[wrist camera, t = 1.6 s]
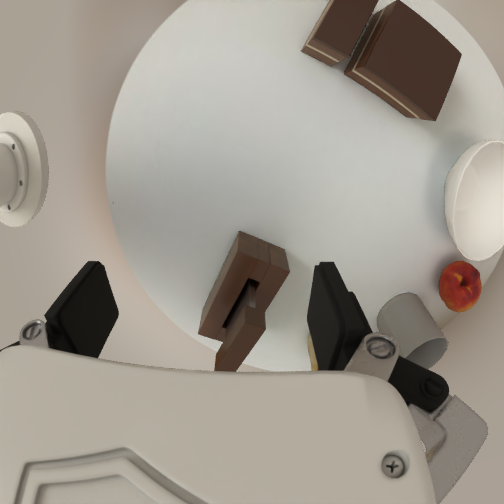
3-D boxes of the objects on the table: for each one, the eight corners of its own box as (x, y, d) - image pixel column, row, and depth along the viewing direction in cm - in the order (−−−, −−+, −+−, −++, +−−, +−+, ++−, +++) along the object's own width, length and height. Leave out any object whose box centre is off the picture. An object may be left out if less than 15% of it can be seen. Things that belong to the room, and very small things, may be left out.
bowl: (411, 142, 26) (447, 152, 20) (488, 124, 23) (521, 133, 17) (425, 252, 33) (451, 278, 27) (493, 220, 30) (520, 239, 24)
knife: (222, 301, 37) (214, 372, 26) (246, 254, 33) (244, 322, 23) (236, 305, 37) (232, 376, 26) (261, 259, 34) (266, 329, 23)
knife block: (202, 308, 37) (197, 334, 33) (239, 230, 32) (237, 250, 27) (242, 322, 38) (241, 347, 34) (284, 249, 33) (290, 271, 28)
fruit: (467, 245, 33) (497, 272, 26) (461, 285, 36) (485, 313, 29) (432, 258, 34) (460, 289, 27) (427, 299, 37) (450, 331, 30)
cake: (343, 73, 23) (365, 66, 18) (374, 13, 19) (398, -2, 13) (406, 117, 25) (435, 121, 19) (432, 58, 20) (462, 54, 15)
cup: (426, 309, 38) (453, 349, 30) (390, 338, 41) (411, 381, 33) (408, 284, 36) (439, 328, 27) (367, 317, 39) (389, 366, 30)
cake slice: (300, 51, 22) (313, 36, 17) (335, -9, 17) (352, -30, 12) (330, 66, 23) (349, 56, 17) (362, 6, 18) (384, -11, 13)
